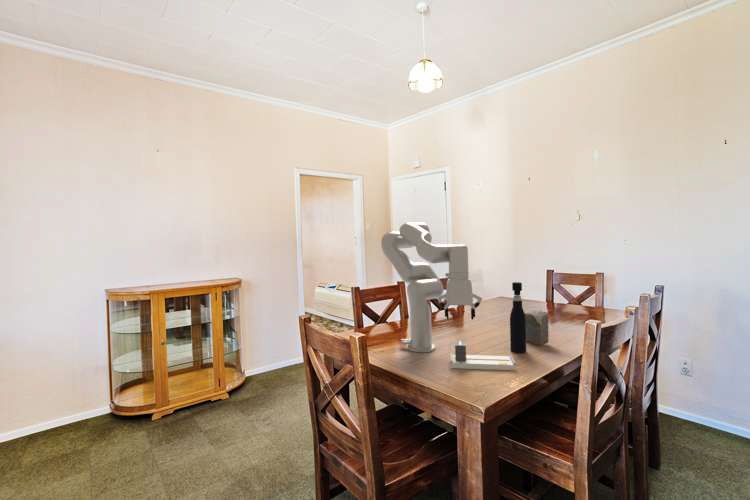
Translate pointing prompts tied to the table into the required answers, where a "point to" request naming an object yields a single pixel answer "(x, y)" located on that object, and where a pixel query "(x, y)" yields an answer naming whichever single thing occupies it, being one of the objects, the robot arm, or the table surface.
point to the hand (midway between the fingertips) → (459, 318)
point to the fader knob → (460, 350)
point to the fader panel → (484, 362)
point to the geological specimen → (537, 326)
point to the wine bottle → (517, 322)
